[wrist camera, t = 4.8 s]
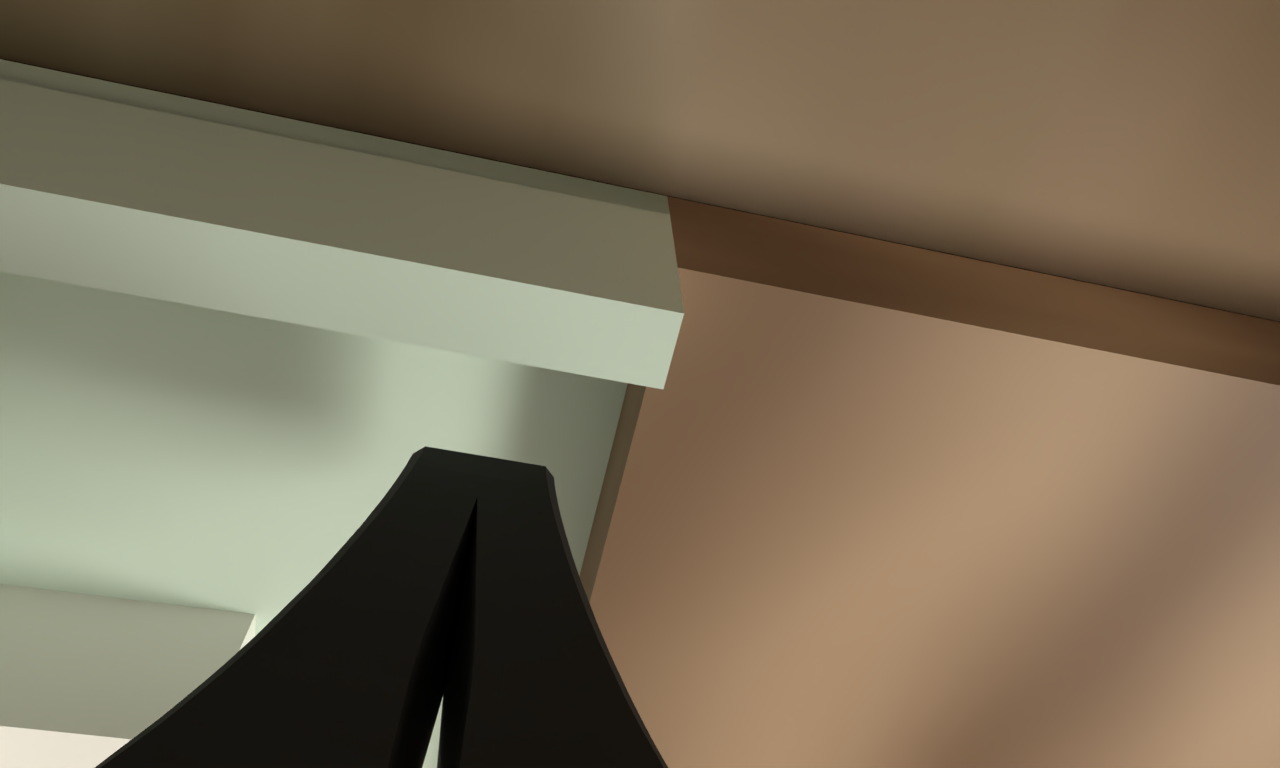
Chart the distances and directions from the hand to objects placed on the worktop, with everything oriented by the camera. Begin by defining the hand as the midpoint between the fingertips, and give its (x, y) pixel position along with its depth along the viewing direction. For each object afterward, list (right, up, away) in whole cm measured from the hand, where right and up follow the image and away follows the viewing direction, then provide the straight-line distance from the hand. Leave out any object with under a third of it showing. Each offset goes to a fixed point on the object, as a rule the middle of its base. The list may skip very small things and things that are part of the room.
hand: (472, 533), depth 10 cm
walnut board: (+7, -5, +6) cm, 10 cm away
